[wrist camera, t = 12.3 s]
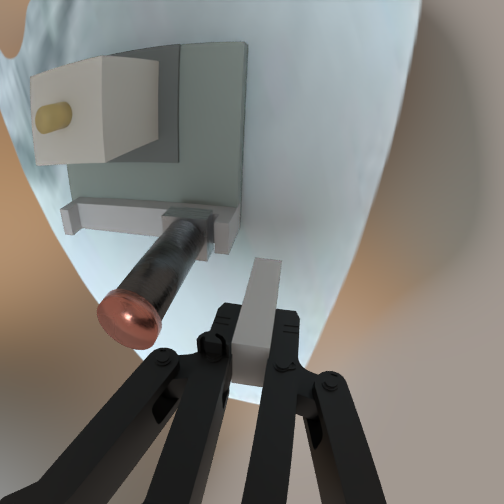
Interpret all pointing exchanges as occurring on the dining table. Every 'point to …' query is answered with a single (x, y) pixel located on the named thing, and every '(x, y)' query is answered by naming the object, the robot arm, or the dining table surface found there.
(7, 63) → the dining table surface
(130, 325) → the lever
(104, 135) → the housing
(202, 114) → the base plate
